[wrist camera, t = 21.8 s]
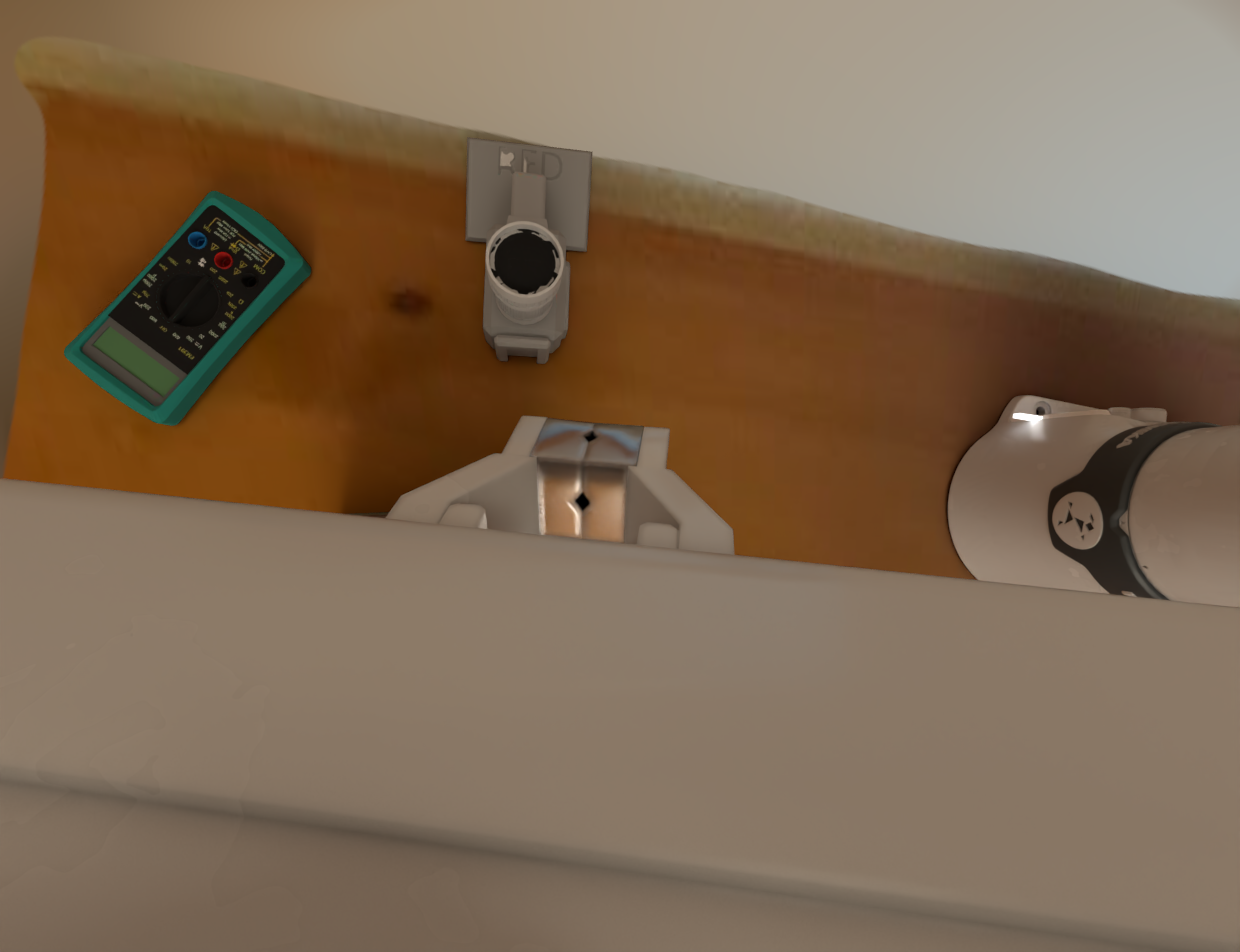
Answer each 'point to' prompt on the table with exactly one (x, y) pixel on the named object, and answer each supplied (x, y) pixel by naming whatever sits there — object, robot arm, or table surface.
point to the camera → (526, 239)
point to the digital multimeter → (189, 309)
